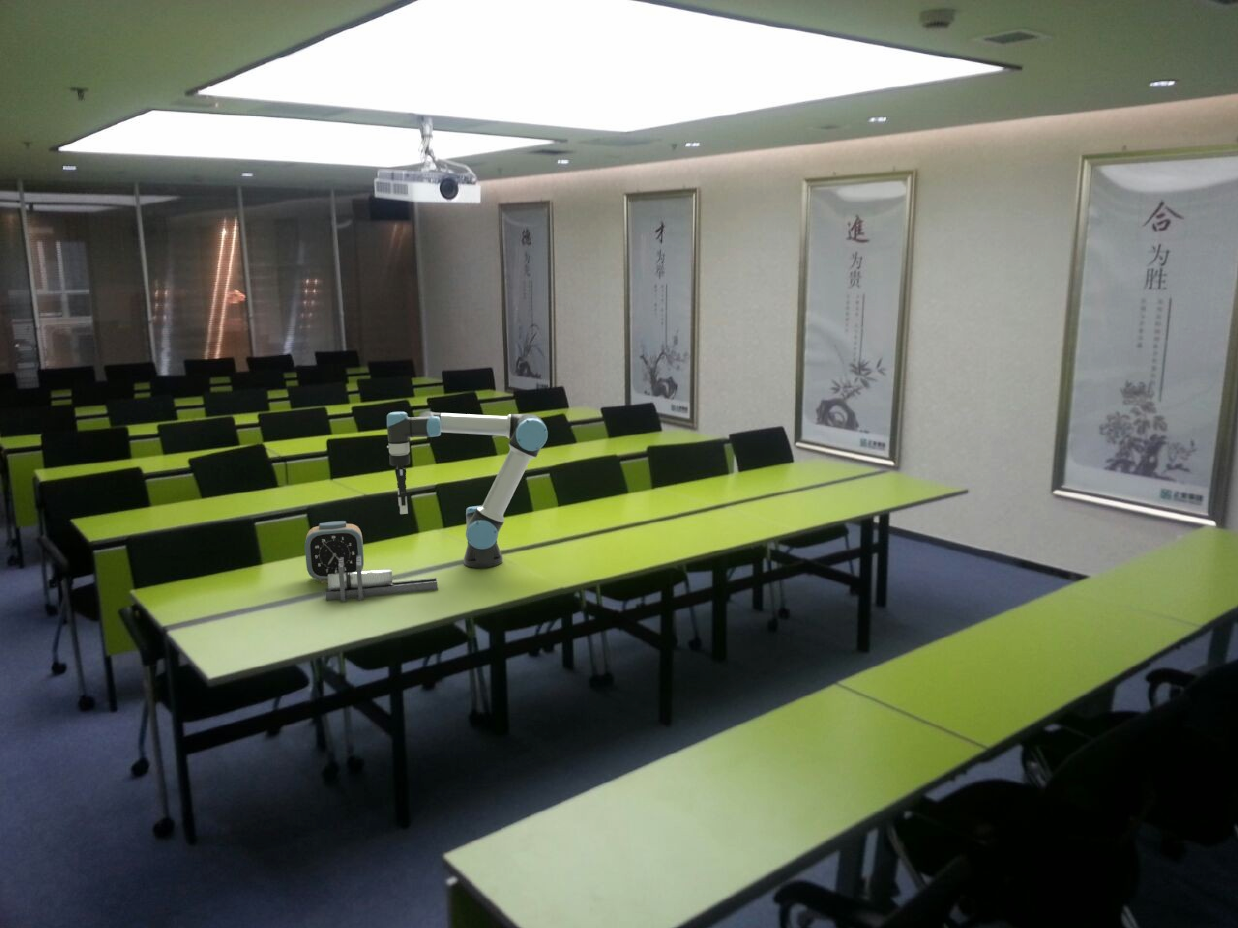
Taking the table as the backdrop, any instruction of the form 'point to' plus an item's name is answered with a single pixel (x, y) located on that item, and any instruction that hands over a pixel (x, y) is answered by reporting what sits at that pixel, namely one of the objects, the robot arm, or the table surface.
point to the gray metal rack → (376, 591)
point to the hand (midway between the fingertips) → (403, 509)
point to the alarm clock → (332, 549)
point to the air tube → (368, 579)
